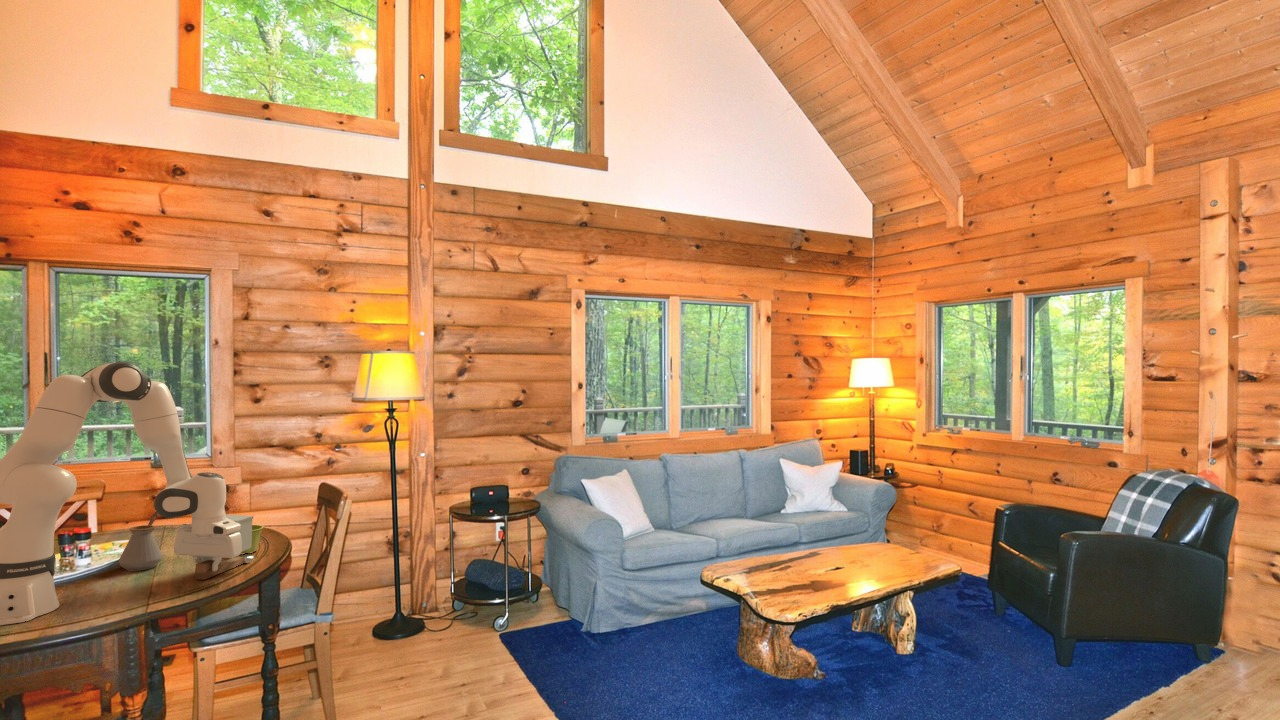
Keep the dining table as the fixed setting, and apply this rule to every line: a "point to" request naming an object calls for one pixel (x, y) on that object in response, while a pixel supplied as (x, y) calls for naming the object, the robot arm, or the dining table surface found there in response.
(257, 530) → the plant pot
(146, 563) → the coffee pot
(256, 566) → the dining table surface
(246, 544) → the grey cube on pedestal
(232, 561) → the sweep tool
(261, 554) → the dining table surface
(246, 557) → the steel token
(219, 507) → the robot arm
